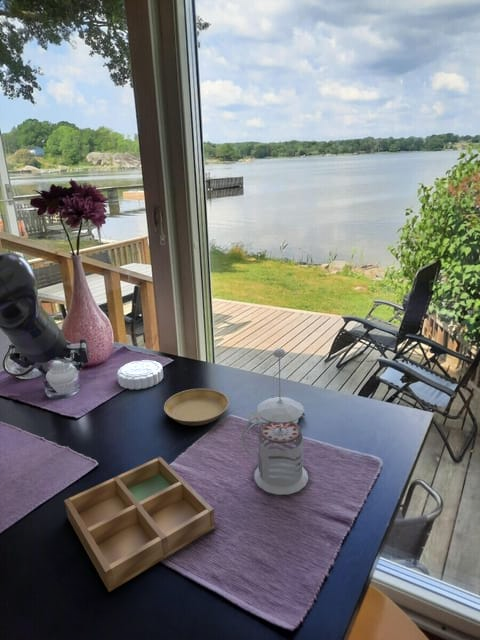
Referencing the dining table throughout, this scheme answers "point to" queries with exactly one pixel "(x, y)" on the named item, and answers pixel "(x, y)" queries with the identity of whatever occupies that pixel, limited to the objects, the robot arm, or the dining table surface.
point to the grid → (137, 520)
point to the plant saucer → (196, 406)
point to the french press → (275, 465)
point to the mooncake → (140, 374)
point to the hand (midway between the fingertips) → (63, 367)
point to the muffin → (62, 376)
